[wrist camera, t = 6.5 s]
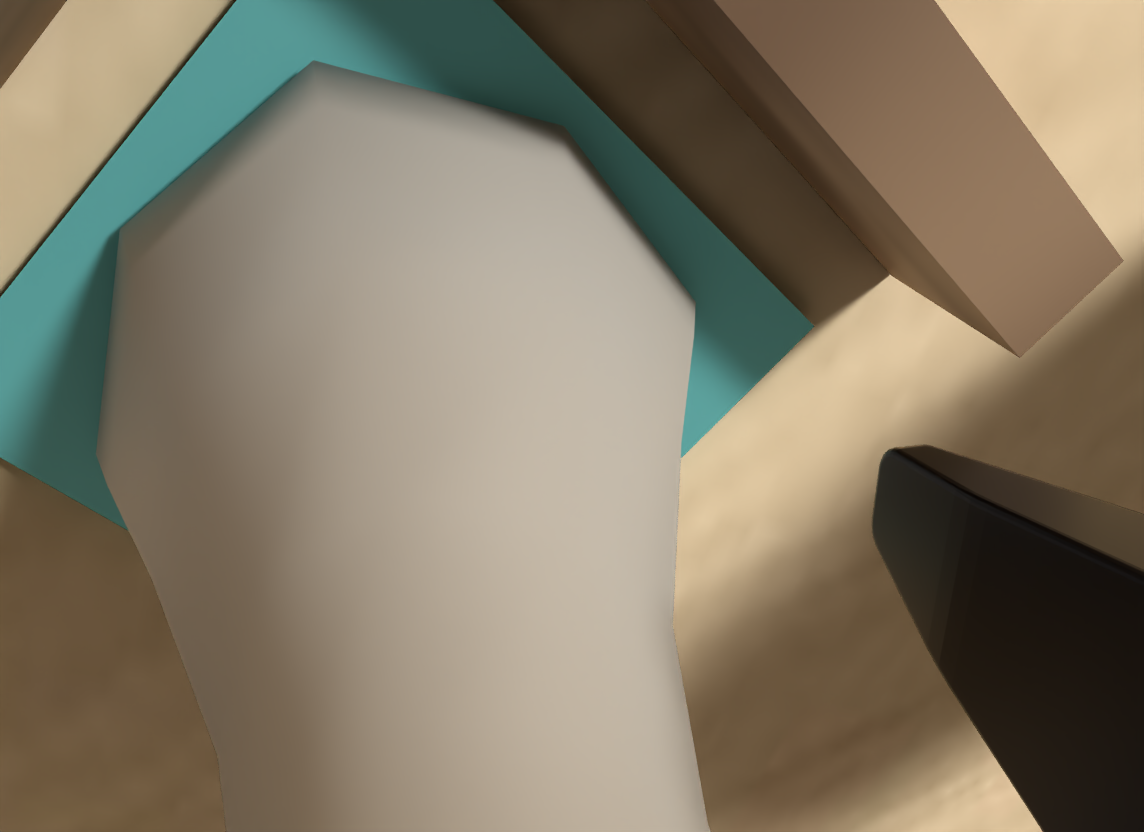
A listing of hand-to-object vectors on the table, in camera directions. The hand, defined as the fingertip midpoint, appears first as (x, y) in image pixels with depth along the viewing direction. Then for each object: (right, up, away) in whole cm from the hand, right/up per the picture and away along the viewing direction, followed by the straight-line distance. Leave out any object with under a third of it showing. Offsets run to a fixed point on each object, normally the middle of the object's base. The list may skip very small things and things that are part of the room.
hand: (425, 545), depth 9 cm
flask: (-1, +2, +4) cm, 4 cm away
